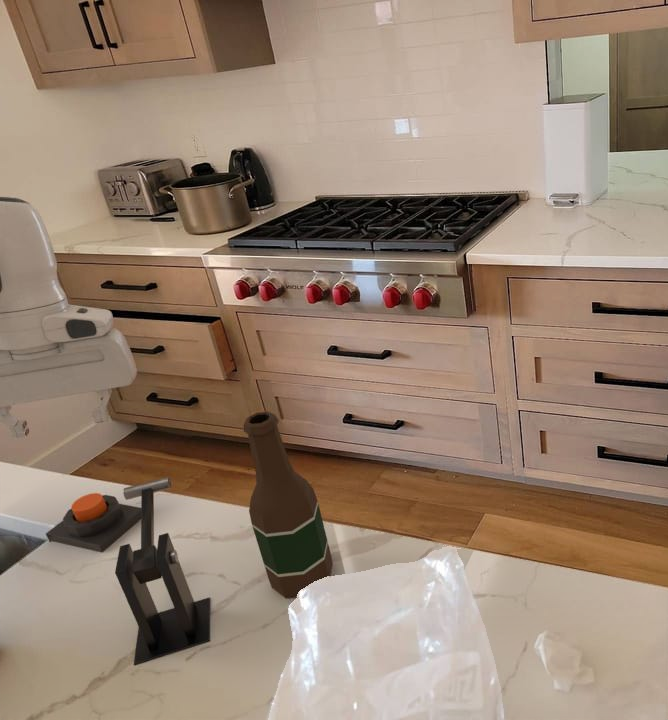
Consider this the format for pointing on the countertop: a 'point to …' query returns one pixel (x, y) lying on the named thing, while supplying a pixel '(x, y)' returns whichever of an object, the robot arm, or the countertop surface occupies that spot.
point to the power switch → (170, 626)
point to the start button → (89, 507)
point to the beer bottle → (284, 513)
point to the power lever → (146, 529)
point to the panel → (96, 527)
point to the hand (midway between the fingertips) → (62, 428)
